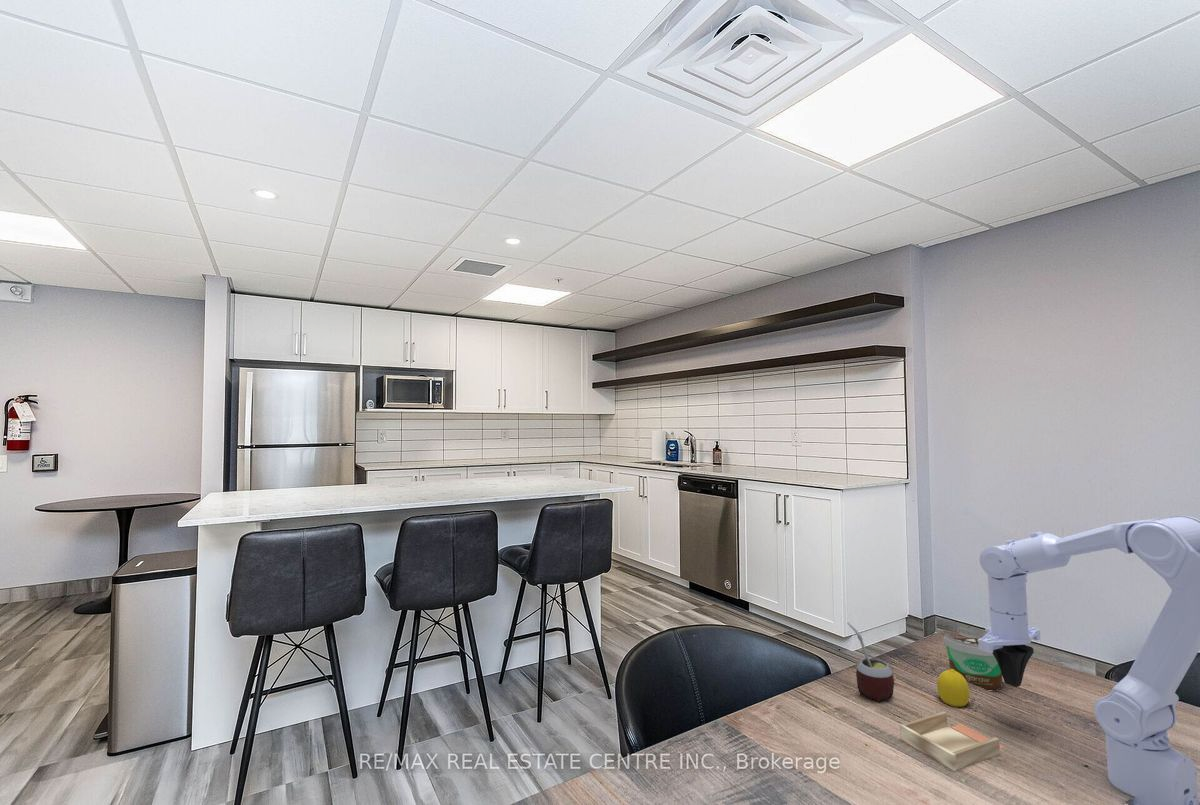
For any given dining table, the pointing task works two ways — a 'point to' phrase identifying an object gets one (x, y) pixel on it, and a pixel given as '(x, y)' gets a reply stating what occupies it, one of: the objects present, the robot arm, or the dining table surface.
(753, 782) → the dining table surface
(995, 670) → the food container
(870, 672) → the mate gourd
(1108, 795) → the dining table surface
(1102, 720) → the robot arm
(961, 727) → the panel
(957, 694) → the lemon
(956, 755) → the cream shallow tray
